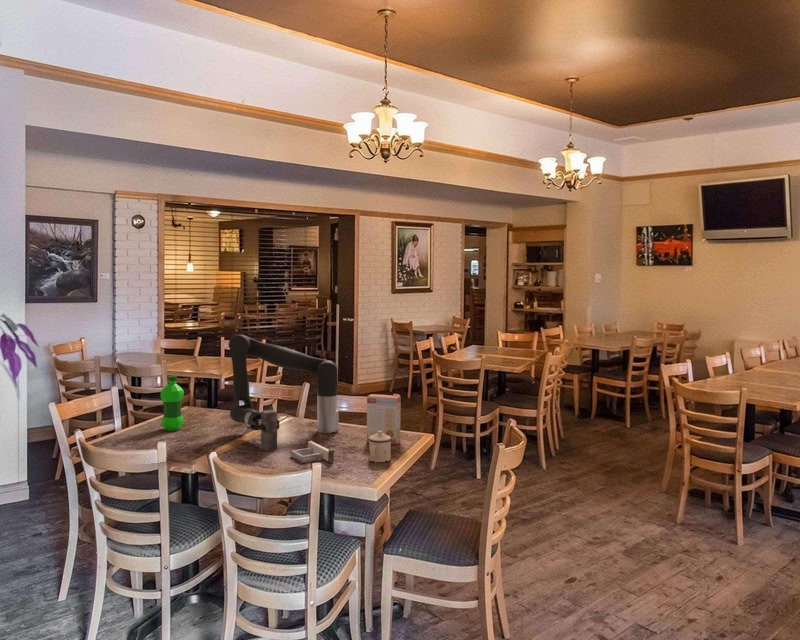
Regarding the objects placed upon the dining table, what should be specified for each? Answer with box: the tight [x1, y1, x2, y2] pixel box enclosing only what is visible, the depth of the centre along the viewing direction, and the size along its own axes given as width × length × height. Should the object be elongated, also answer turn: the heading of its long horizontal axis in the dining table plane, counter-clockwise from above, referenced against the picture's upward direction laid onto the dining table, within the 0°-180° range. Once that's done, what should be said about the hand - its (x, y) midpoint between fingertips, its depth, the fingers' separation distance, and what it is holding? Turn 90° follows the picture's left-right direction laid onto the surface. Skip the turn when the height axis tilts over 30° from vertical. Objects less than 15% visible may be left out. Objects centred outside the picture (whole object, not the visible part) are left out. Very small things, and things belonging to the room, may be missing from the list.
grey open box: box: [290, 437, 335, 464], centre depth 248 cm, size 11×21×5 cm, turn 35°
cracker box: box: [366, 393, 402, 445], centre depth 273 cm, size 14×6×21 cm, turn 71°
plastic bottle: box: [159, 375, 185, 432], centre depth 289 cm, size 10×10×25 cm
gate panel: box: [308, 440, 330, 462], centre depth 251 cm, size 18×2×4 cm, turn 35°
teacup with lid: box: [368, 431, 392, 463], centre depth 246 cm, size 12×9×12 cm
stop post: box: [260, 409, 278, 452], centre depth 260 cm, size 5×5×16 cm
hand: (271, 428), depth 258 cm, fingers closed on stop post, 5 cm apart
